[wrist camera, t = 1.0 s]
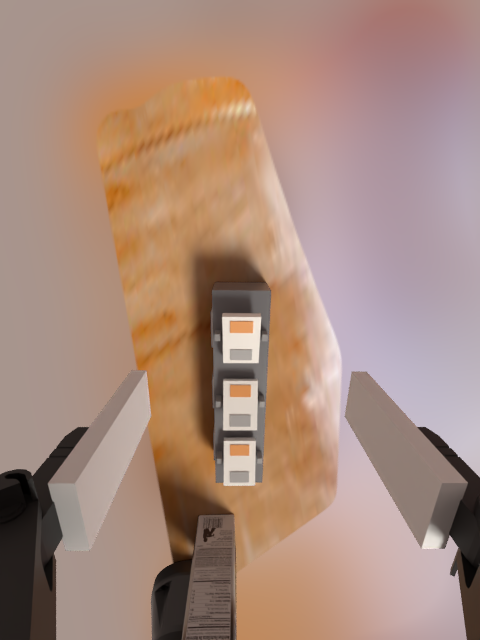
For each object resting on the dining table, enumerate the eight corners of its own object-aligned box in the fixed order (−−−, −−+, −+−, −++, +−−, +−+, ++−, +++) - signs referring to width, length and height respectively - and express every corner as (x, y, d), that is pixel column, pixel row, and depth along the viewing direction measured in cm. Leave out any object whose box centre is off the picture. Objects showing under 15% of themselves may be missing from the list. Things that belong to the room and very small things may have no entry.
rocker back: (254, 478, 37) (255, 486, 35) (224, 478, 37) (223, 486, 35) (255, 435, 36) (255, 441, 35) (224, 435, 36) (223, 441, 35)
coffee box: (236, 550, 50) (237, 693, 34) (200, 551, 50) (185, 695, 34) (235, 513, 47) (235, 650, 32) (197, 514, 47) (178, 652, 32)
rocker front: (257, 356, 33) (258, 363, 31) (223, 356, 33) (223, 363, 31) (260, 311, 30) (261, 317, 28) (222, 310, 30) (222, 317, 28)
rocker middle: (256, 425, 34) (257, 430, 33) (223, 425, 34) (223, 430, 33) (257, 377, 33) (257, 381, 32) (223, 377, 33) (223, 381, 32)
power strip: (259, 454, 43) (262, 490, 37) (216, 454, 43) (212, 491, 37) (266, 282, 35) (272, 293, 29) (212, 282, 35) (208, 292, 29)
